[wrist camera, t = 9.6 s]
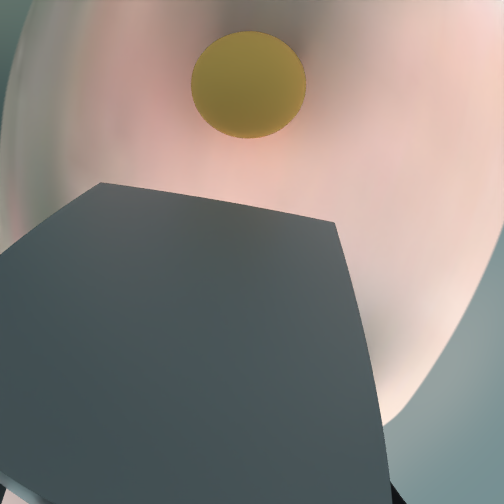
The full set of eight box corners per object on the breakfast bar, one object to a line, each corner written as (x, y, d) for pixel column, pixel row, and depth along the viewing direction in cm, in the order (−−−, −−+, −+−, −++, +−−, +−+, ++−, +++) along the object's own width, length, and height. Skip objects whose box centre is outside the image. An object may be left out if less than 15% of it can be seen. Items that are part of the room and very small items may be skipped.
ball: (319, 43, 9) (313, 42, 13) (180, 25, 9) (214, 27, 13) (292, 165, 12) (294, 130, 16) (170, 144, 12) (203, 114, 16)
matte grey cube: (282, 381, 13) (265, 575, 6) (117, 344, 14) (36, 508, 6) (334, 222, 10) (395, 554, 2) (100, 182, 10) (-110, 368, 2)
